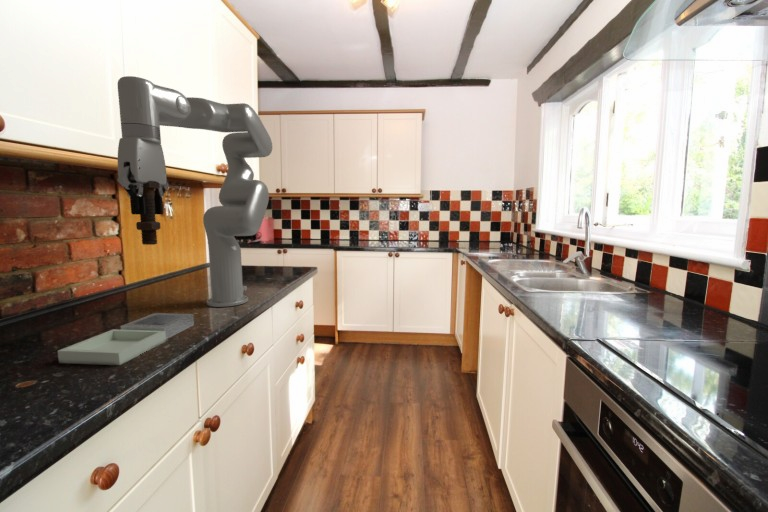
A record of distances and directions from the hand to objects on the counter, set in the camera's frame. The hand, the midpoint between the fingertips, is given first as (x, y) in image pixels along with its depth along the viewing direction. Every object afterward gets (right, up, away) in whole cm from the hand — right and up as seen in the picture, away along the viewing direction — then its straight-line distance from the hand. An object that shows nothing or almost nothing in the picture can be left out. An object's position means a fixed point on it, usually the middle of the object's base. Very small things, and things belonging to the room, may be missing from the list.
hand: (147, 213), depth 85 cm
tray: (-1, -31, -9) cm, 32 cm away
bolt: (0, -8, +1) cm, 8 cm away
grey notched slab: (0, -29, +4) cm, 29 cm away
